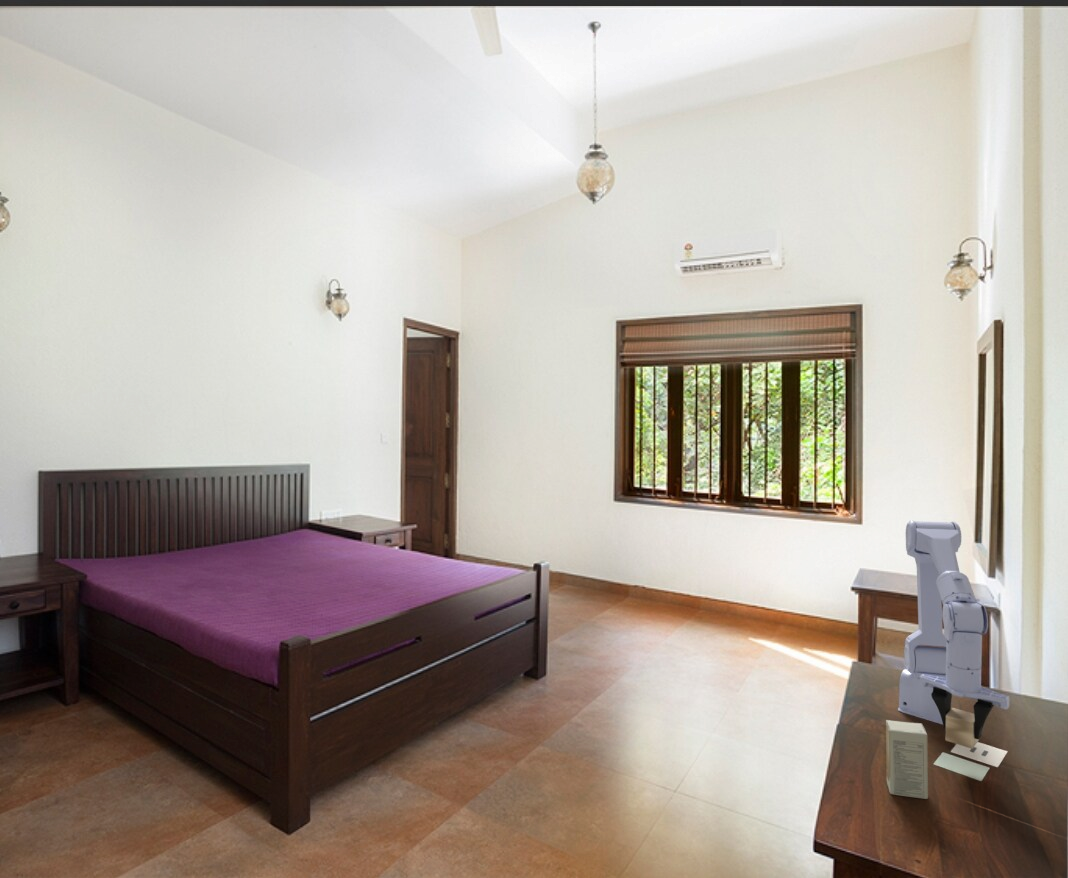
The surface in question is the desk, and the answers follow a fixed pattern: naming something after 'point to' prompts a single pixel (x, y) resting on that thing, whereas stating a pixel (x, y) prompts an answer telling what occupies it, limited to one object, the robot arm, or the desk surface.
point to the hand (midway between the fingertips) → (962, 732)
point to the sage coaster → (961, 766)
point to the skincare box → (906, 759)
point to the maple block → (960, 728)
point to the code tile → (981, 753)
